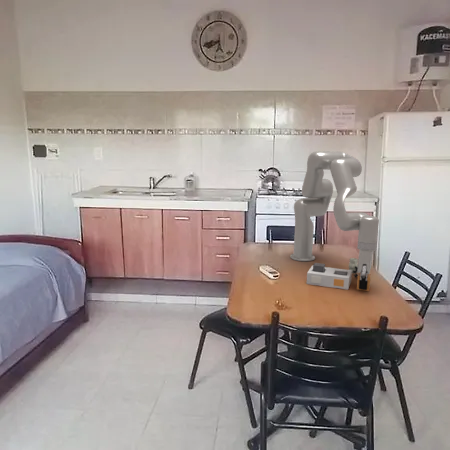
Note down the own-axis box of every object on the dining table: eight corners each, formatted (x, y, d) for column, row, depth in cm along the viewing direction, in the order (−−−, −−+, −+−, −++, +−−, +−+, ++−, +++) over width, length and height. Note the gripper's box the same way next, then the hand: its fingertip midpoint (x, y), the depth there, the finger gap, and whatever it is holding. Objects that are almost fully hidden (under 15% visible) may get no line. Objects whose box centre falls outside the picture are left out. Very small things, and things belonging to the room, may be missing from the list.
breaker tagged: (335, 280, 191) (336, 270, 190) (346, 281, 190) (346, 271, 189) (334, 283, 187) (334, 273, 186) (345, 284, 186) (345, 274, 185)
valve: (344, 271, 207) (352, 279, 196) (345, 257, 206) (353, 265, 194) (358, 271, 208) (366, 279, 196) (359, 257, 206) (368, 265, 194)
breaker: (314, 272, 194) (314, 262, 193) (324, 273, 192) (325, 264, 192) (312, 275, 190) (313, 265, 189) (322, 276, 188) (323, 266, 187)
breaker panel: (311, 275, 199) (312, 265, 198) (351, 281, 193) (351, 270, 192) (306, 284, 188) (307, 273, 186) (348, 289, 181) (349, 278, 180)
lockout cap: (357, 285, 187) (359, 269, 185) (369, 287, 185) (371, 271, 184) (356, 289, 182) (358, 273, 181) (369, 291, 181) (370, 274, 179)
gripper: (359, 240, 189) (356, 279, 193) (355, 249, 173) (352, 292, 177) (377, 242, 186) (373, 281, 190) (375, 251, 171) (371, 294, 174)
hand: (363, 286), depth 184 cm, fingers open, 6 cm apart
